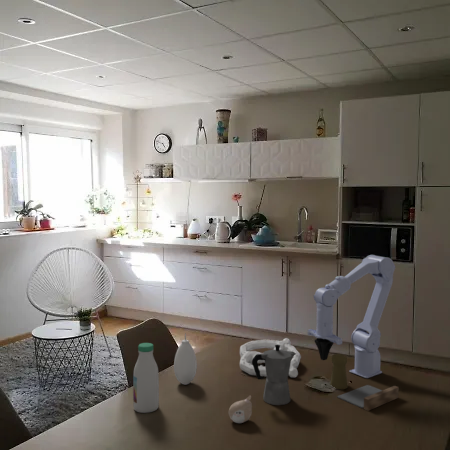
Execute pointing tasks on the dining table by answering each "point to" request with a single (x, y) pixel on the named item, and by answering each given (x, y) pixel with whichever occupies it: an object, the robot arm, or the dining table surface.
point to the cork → (339, 371)
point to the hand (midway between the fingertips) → (323, 359)
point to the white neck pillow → (258, 344)
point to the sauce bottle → (185, 363)
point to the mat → (359, 395)
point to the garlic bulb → (241, 410)
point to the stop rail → (380, 398)
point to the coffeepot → (275, 375)
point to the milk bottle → (145, 381)
